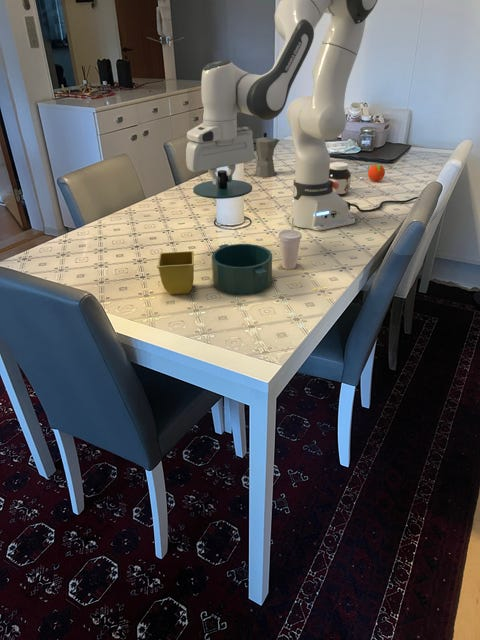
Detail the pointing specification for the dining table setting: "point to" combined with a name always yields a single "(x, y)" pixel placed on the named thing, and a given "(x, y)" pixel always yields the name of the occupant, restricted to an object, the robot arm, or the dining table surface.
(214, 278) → the pot
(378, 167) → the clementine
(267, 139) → the coffeepot
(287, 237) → the smoothie
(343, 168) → the spread jar
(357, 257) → the dining table surface
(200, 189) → the lid
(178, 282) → the flower pot
